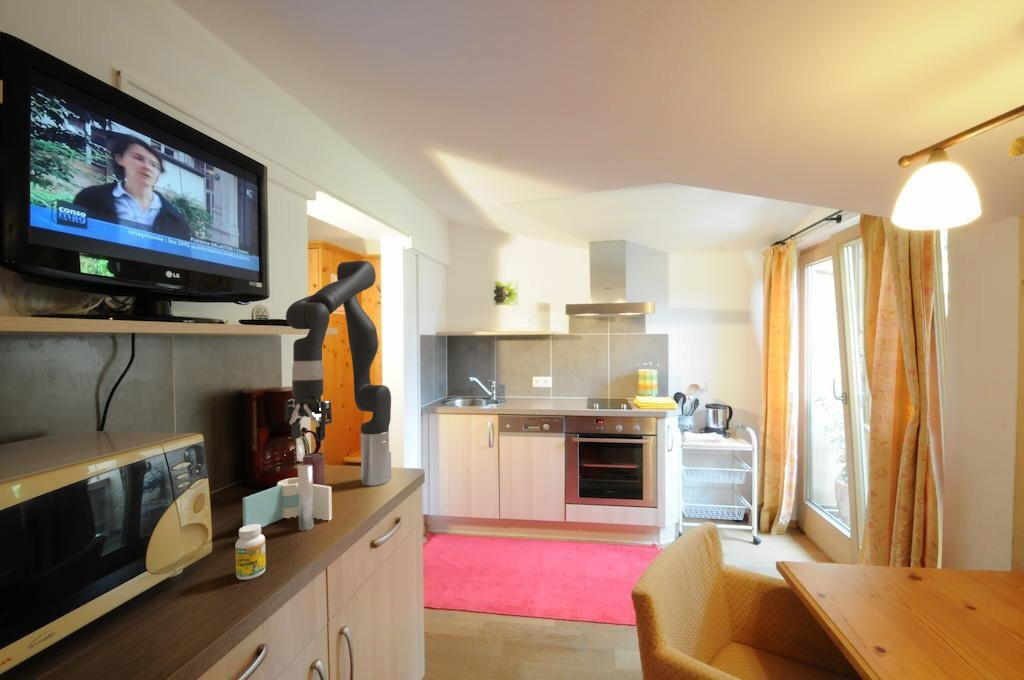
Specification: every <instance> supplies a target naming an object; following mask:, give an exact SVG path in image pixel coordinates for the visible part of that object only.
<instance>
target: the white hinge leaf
mask: <svg viewBox="0 0 1024 680" xmlns="http://www.w3.org/2000/svg"><path fill="white" fill-rule="evenodd" d="M279 485H282V496H293V495H298V476H297V477H290V478H286V479H282V480H279V481H278V482H277V484H276V486H279ZM332 496H333V494H332V486H329V485H325V486H324V485H317V484H313V511H314V518H317V519H316V520H319V519H322V520H321V521H325V520H328V521H327V522H330V521H329V520H331V519H332V520H333V512H332V511H333V509H332V506H333V505H332V504H333V503H332V501H333V497H332ZM296 516H298V517H299V505H298V506H293V507H286V508H284V507H283V518H287V519H291V518H290V517H294V518H297V517H296ZM283 518H282V519H283ZM332 520H331V521H332Z"/></svg>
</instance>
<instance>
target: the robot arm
mask: <svg viewBox="0 0 1024 680" xmlns="http://www.w3.org/2000/svg"><path fill="white" fill-rule="evenodd" d="M336 276H337V278H336V279H337V280H336V281H333V282H331V283H329V284H326V285H325V286H323V287H321V288H320V289H319V290H317V291H316V292H315V293H314V294H311V295H308V296H306V297H304V298H301V299H299V300H296V301H295V302H293V303H292V304H290V305H289V306H288V308H287V310H286V312H285V321H286V323H287V324H288V325H289V327H290V328H292V329H295V330H308V333H307V335H306V336H305V337H301V338H298V339H295V341H294V342H293V347H292V349H293V351H292V353H293V357H292V358H293V362H292V363H293V364H292V371H291V373H292V374H291V383H292V385H291V391H292V392H291V395H292V397H294V398H290V399H286V400H285V401H284V402H285V404H284V422H285V423H289V425H290V435H291V439H293V440H297V439H301V435H302V434H301V432H302V431H301V428H302V427H301V426H302V425H301V421H302V420H303V418H304V417H307V418H310V420H311V421H313V422H314V424H315V442H321V441H324V440H325V438H326V426H327V425H329V424H331V423H332V422H333V420H332V419H333V417H332V416H333V415H332V401H331V400H330V399H329V400H322V396H323V395H324V364H323V346H324V342H325V341H324V340H325V337H326V334H327V331H328V327H329V324H330V318H331V317H330V315H332V314H333V313H334V312H335V311H336V310H338V308H340V307H341V306H343V310H344V314H345V315H344V316H345V323H346V328H347V335H348V336H347V337H348V344H349V349H350V356H351V363H352V364H351V365H352V372H353V391H354V392H353V394H354V395H353V396H354V402H355V405H356V407H357V409H358V410H359V411H361V412H366V413H367V412H368V413H369V412H370V413H372V415H371V419H370V420H368V421H365V422H363V423H362V424H361V425H360V458H361V459H360V462H361V464H360V465H361V466H360V467H361V468H360V470H361V484H362V485H364V486H379V485H385V484H386V483H388V482H389V481H390V480H391V479H392V452H391V451H390V424H391V413H392V411H391V410H392V395H391V390H390V388H389V387H388V386H387V385H382V384H372V383H371V368H372V364H373V362H374V360H375V358H376V355H377V353H378V349H379V341H378V340H379V338H378V333H377V327H376V325H375V323H374V321H373V320H372V319H371V318H370V316H369V315H368V314H367V312H366V311H365V310H364V309H363V308H362V305H361V304H360V302H359V300H358V296H357V295H358V294H360V293H361V292H363V291H366V290H369V289H371V288H372V287H373V286H374V284H375V282H376V278H377V275H376V270H375V267H374V265H373V264H372V263H371V262H370V261H368V260H353V261H343V262H340V263H339V264H338V265H337V268H336Z"/></svg>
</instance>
